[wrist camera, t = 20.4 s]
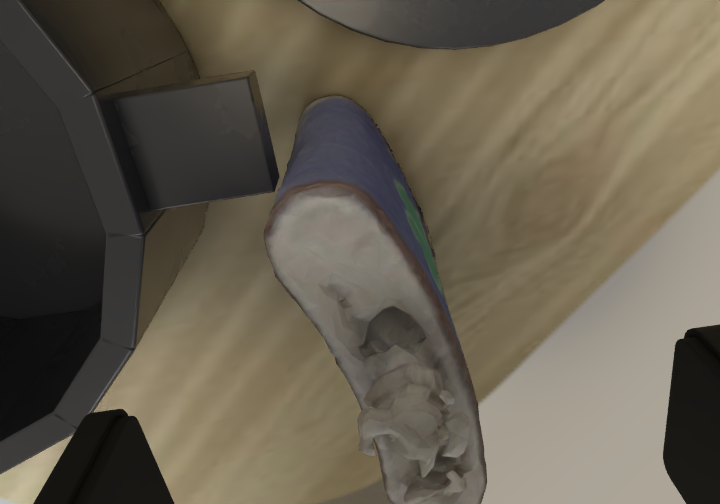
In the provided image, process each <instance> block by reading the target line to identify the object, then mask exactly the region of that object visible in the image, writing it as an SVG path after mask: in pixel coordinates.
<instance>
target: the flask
mask: <svg viewBox="0 0 720 504" xmlns="http://www.w3.org/2000/svg"><path fill="white" fill-rule="evenodd" d="M264 239H265V245H266V249H267V254H268V257H269V259H270V261H271V264H272V266H273V269H274V273H275V277H276V278H277V279H278V280H279V282H280V283H281V284H282V285H283V287H284V288H285V289H286V291H287V292H288V293H289V294H290V296H291V297H292V298H293V299H294V300H295V301H296V302H297V303H298V305H299V306H300V307H301V309H302V310H303V312H304V313H305V314H306V316H307V317H308V318H309V319H310V320H311V321H312V323H313V324H314V325H315V327H316V328H317V329H318V331H319V332H320V333H321V335H322V336H323V337H324V339H325V341H326V343H327V345H328V347H329V349H330V351H331V353H332V354H333V355H334V356H335V360H336V364H337V365H338V367H339V368H340V369H341V371H342V372H343V373H344V375H345V377H346V379H347V381H348V382H349V384H350V386H351V388H352V390H353V392H354V394H355V396H356V398H357V400H358V402H359V405H360V407H361V410H362V411H361V412H360V414H359V417H358V428H359V433H360V436H361V437H360V444H359V450H360V451H361V452H362V453H363V454H366V455H369V456H376V454H375V451H374V447H373V440H374V442H375V445H376V448H377V452H378V455H379V461H380V466H381V471H382V476H383V482H384V487H385V490H386V493H387V496H388V499H389V501H390V504H481V502H482V499H483V495H484V492H485V489H486V484H487V473H486V462H485V459H484V445H483V439H482V434H481V427H480V421H479V411H478V403H477V401H476V397H475V392H474V388H473V384H472V381H471V378H470V374H469V371H468V368H467V364H466V361H465V358H464V355H463V352H462V349H461V346H460V343H459V340H458V338H457V334H456V331H455V327H454V324H453V322H452V319H451V316H450V313H449V309H448V306H447V303H446V299H445V295H444V291H443V288H442V285H441V282H440V279H439V276H438V272H437V268H436V263H435V252H434V249H432V248H431V237H430V236H429V231H428V227H427V226H426V225H425V222H424V219H423V213H422V211H421V208H420V207H419V206H418V205H417V202H416V201H415V199H414V197H413V196H412V193H411V189H410V188H409V186H408V184H407V182H406V180H405V178H404V175H403V172H402V171H401V169H400V167H399V164H397V162H396V160H395V158H394V157H393V154H392V150H391V149H390V147H389V145H388V143H387V142H386V140H385V138H384V137H383V136H382V135H381V132H380V130H379V128H377V124H375V123H374V122H373V119H372V118H371V117H370V115H369V114H368V113H367V112H366V110H364V109H363V108H362V107H361V106H360V105H358V104H357V103H355V102H354V101H352V100H351V99H349V98H346V97H343V96H337V95H336V96H327V97H324V98H320V99H317V100H315V101H314V102H312V103H311V104H310V105H308V106H307V107H306V108H305V110H304V112H303V114H302V116H301V117H300V119H299V123H298V127H297V131H296V134H295V143H294V147H293V151H292V154H291V158H290V160H289V162H288V164H287V171H286V173H285V177H284V180H283V183H282V186H281V188H280V189H279V190H278V193H277V197H276V200H275V203H274V206H273V208H272V211H271V213H270V215H269V219H268V222H267V225H266V228H265V230H264Z"/></svg>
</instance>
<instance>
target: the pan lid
mask: <svg viewBox="0 0 720 504" xmlns="http://www.w3.org/2000/svg"><path fill="white" fill-rule="evenodd" d="M298 1H300V2H301V3H303V4H304V5H306V6H307V7H309V8H310V9H312V10H313V11H315V12H316V13H318V14H319V15H321V16H323V17H325V18H327V19H329V20H332V21H334V22H336V23H338V24H340V25H342V26H344V27H346V28H348V29H350V30H352V31H355V32H358V33H361V34H364V35H367V36H370V37H373V38H376V39H379V40H382V41H385V42H390V43H396V44H401V45H407V46H412V47H418V48H432V49H466V48H476V47H486V46H493V45H498V44H502V43H506V42H510V41H515V40H519V39H523V38H527V37H530V36H532V35H535V34H538V33H540V32H543V31H546V30H548V29H551V28H554V27H556V26H559V25H561V24H563V23H565V22H567V21H569V20H571V19H573V18H575V17H577V16H579V15H581V14H582V13H584V12H586V11H588V10H590V9H592V8H594V7H596V6H597V5H599V4H600V3H602V2H603V1H605V0H298Z"/></svg>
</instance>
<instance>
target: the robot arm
mask: <svg viewBox="0 0 720 504" xmlns="http://www.w3.org/2000/svg"><path fill="white" fill-rule="evenodd" d="M663 460H664V464H665V468H666V471H667V473H668V475H669V477H670V479H671V480H672V482H673V483H674V485H675V487H676V488H677V490H678V491H679V493H680V494H681V496H682V497H683V499H684V501H685V502H686V504H720V325H714V326H707V327H700V328H692V329H690V330H687V332H686V333H685V336H684V339H679V340H678V341H677V342H676V345H675V352H674V361H673V370H672V379H671V388H670V397H669V406H668V415H667V424H666V432H665V442H664V451H663ZM34 504H174V502H173V500H172V497H171V495H170V493H169V490H168V488H167V486H166V483H165V481H164V479H163V477H162V474H161V472H160V470H159V467H158V465H157V463H156V461H155V458H154V456H153V454H152V451H151V449H150V447H149V444H148V442H147V440H146V438H145V435H144V433H143V431H142V428H141V426H140V424H139V422H138V420H137V418H136V417H134V416H128V414H127V413H126V412H125V411H124V410H123V409H117V410H109V411H102V412H95V413H89V414H88V415H86V416H85V417H84V418H83V420H82V421H81V423H80V425H79V426H78V428H77V430H76V431H75V433H74V435H73V437H72V438H71V440H70V442H69V443H68V445H67V447H66V449H65V450H64V452H63V454H62V455H61V457H60V459H59V461H58V462H57V464H56V466H55V467H54V469H53V471H52V473H51V474H50V476H49V478H48V479H47V481H46V483H45V485H44V486H43V488H42V490H41V492H40V493H39V495H38V497H37V498H36V500H35V502H34Z"/></svg>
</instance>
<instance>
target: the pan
mask: <svg viewBox="0 0 720 504" xmlns="http://www.w3.org/2000/svg"><path fill="white" fill-rule="evenodd" d="M278 180H279V172H278V168H277V164H276V159H275V155H274V151H273V146H272V142H271V137H270V133H269V129H268V124H267V120H266V116H265V111H264V107H263V102H262V98H261V94H260V89H259V85H258V80H257V76H256V72H255V71H254V70H251V71H245V72H239V73H233V74H227V75H221V76H215V77H209V78H203V79H200V78H199V75H198V72H197V69H196V67H195V64H194V62H193V60H192V58H191V56H190V54H189V52H188V49H187V47H186V45H185V43H184V41H183V39H182V37H181V35H180V33H179V31H178V30H177V28H176V27H175V25H174V23H173V22H172V20H171V19H170V17H169V15H168V14H167V12H166V11H165V9H164V7H163V6H162V4H161V3H160V2H159V0H0V474H2V473H4V472H5V471H7V470H9V469H11V468H13V467H15V466H16V465H18V464H20V463H22V462H24V461H25V460H27V459H29V458H31V457H33V456H35V455H36V454H38V453H40V452H42V451H44V450H45V449H47V448H49V447H51V446H53V445H54V444H56V443H58V442H60V441H62V440H64V439H65V438H67V437H69V436H71V435H73V434H74V433H75V431H76V430H77V428H78V426H79V425H80V423H81V421H82V420H83V418H84V417H85V416H86V415H88V414H89V413H93V412H94V410H95V409H96V407H97V406H98V404H99V403H100V401H101V400H102V398H103V397H104V395H105V394H106V392H107V391H108V389H109V388H110V386H111V385H112V383H113V382H114V380H115V379H116V377H117V376H118V374H119V373H120V371H121V370H122V369H123V367H124V366H125V364H126V363H127V361H128V360H129V358H130V357H131V355H132V354H133V352H134V351H135V349H136V347H137V345H138V344H139V342H140V340H141V338H142V337H143V335H144V333H145V331H146V330H147V328H148V326H149V324H150V322H151V321H152V319H153V317H154V315H155V314H156V312H157V310H158V308H159V307H160V305H161V303H162V301H163V300H164V298H165V296H166V294H167V293H168V291H169V289H170V287H171V286H172V284H173V282H174V280H175V278H176V277H177V275H178V273H179V271H180V270H181V268H182V266H183V264H184V263H185V261H186V259H187V257H188V256H189V254H190V252H191V250H192V249H193V247H194V245H195V243H196V242H197V240H198V238H199V236H200V234H201V233H202V230H203V228H204V223H205V215H206V211H207V207H208V202H214V201H220V200H226V199H233V198H239V197H245V196H252V195H258V194H264V193H271V192H274V191H275V189H276V186H277V183H278Z"/></svg>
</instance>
